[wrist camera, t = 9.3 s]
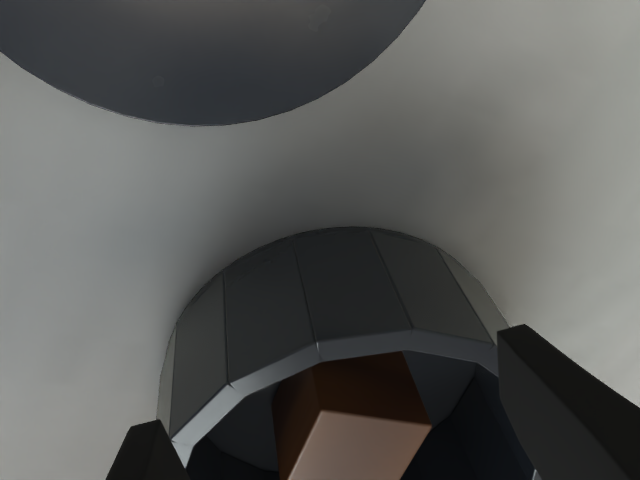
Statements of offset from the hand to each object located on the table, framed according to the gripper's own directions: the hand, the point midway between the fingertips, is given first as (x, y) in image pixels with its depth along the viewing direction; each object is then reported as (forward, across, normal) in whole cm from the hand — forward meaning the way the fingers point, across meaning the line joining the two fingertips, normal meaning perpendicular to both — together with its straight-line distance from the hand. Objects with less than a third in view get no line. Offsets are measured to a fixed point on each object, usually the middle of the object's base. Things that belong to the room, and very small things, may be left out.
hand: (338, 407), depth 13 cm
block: (+9, 0, +8) cm, 12 cm away
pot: (+9, 0, +8) cm, 12 cm away
